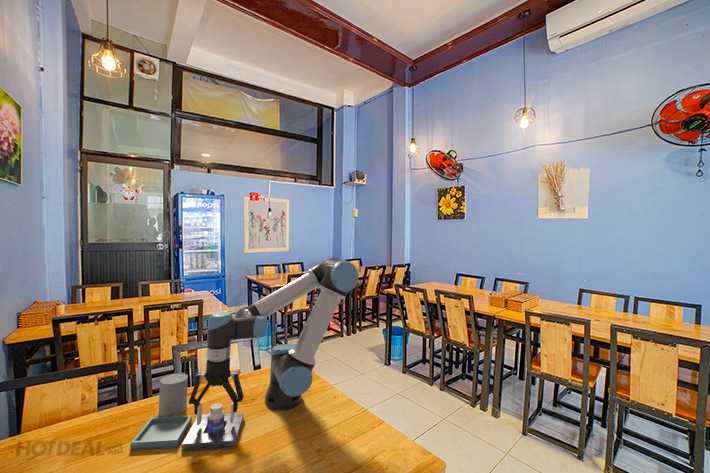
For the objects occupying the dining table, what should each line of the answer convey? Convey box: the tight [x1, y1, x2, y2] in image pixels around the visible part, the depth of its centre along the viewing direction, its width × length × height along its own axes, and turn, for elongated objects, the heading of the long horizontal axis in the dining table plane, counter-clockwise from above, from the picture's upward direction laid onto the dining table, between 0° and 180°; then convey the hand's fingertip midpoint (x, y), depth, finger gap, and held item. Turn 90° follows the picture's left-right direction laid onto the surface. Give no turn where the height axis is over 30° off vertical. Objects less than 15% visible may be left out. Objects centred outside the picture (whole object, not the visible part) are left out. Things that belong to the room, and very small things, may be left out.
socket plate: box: [181, 412, 245, 453], centre depth 107 cm, size 16×16×2 cm
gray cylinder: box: [158, 372, 189, 417], centre depth 121 cm, size 10×10×12 cm
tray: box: [129, 415, 193, 452], centre depth 105 cm, size 14×14×2 cm
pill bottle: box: [207, 402, 225, 433], centre depth 107 cm, size 5×5×10 cm
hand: (215, 421), depth 107 cm, fingers open, 10 cm apart
